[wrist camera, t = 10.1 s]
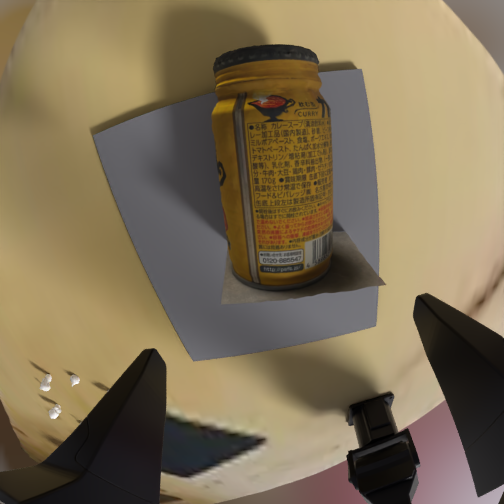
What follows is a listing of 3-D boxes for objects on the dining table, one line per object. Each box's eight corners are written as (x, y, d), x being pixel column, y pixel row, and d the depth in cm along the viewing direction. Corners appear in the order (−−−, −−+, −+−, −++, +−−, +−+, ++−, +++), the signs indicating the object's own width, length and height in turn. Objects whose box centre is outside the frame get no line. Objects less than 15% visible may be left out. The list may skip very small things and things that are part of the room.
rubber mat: (374, 321, 26) (376, 326, 26) (193, 356, 28) (193, 361, 27) (358, 69, 15) (361, 69, 15) (96, 134, 17) (92, 135, 16)
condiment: (228, 244, 21) (207, 70, 15) (345, 233, 21) (341, 64, 15) (221, 308, 14) (183, 45, 9) (385, 290, 14) (392, 43, 9)
